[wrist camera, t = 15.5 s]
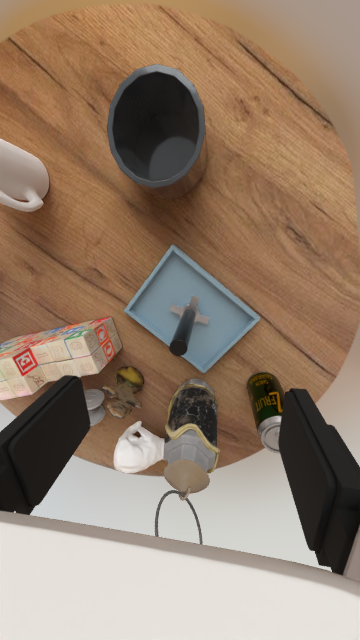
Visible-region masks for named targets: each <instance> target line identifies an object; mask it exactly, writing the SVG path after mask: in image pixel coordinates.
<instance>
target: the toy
mask: <svg viewBox="0 0 360 640" xmlns="http://www.w3.org/2000/svg"><path fill="white" fill-rule="evenodd" d="M115 379H116V384H117V385H116V386H115V387H113V386H112V385H104V387H102V389H103V390H105V391H106V392H107V393H108V394H110V395H111V396H110V401H109V403H108V404H107V408H108V409H109V411H110V413H111V414H112V415H113V416H115V417H118V418H125V417H126V416H128V415H129V413H130V412H131V411H132V409H131V407H130V406H129V404H131V405H132V406H134V407H136V408H139V409H141V403H140V402H139V401H138V400H136V399H135V395H134V394H135V393H136V392H138V391H140V390H141V388H142V386H143V384H144V379H143V376H142V375H141V373H140V372H139V371H137V370H136V368H133V367H131V366H129V367H122V368H121V369H119V370H118V371H117V372H116V374H115ZM128 403H129V404H128Z"/></svg>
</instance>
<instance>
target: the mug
mask: <svg viewBox="0 0 360 640" xmlns="http://www.w3.org/2000/svg"><path fill="white" fill-rule="evenodd" d="M48 189H49V176H48V173H47V170H46V168H45V166H44V165H43V163H42V162H41V161H40V160H39V159H38V158H37V157H35V156H33V155H31V154H29V153H28V152H26V151H24V150H22V149H20V148H18V147H16V146H14V145H12V144H10V143H8V142H6V141H4V140H2V139H0V203H2V204H4V205H6V206H9V207H11V208H14V209H17V210H20V211H25V212H32V211H35V210H37V209H39V208H41V207H42V206H43V201H42V200H41V199H42V198H44V197H45V195H46V194H47V192H48ZM12 198H15V199H21V200H27V201H29V203H23V202H19V201H16V200H14V199H12Z"/></svg>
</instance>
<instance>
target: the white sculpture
mask: <svg viewBox="0 0 360 640" xmlns="http://www.w3.org/2000/svg"><path fill="white" fill-rule="evenodd" d="M141 425H142V422H141V421H138V422H136V423H135V424H133V425H132V426H130V427H129V428H128V429H126V431H125V432H124V433H123V435H122V436H121V437H120V438H119V441H118V443H117V445H116V447H115V452H114V467H115V469H116V470H117V471H120V472H123V473H136V472H138V471H142V470H145V469H146V468H148V467H149V466H150V465H154V464H155V463H156V462H157V461H160V460H161V459H163V460H165V459H164V458H163V453H164V444H165V442H164V440H165V439H164V438H159V437H158V436H156V435H153V434H152V433H151V432H149V431H148V430H146V429H145V428H143V427H141ZM137 431H138V432H139V433H140V434H141V436H142V437H140V438H138V437H137V436H133V434H134V433H136V432H137Z"/></svg>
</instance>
